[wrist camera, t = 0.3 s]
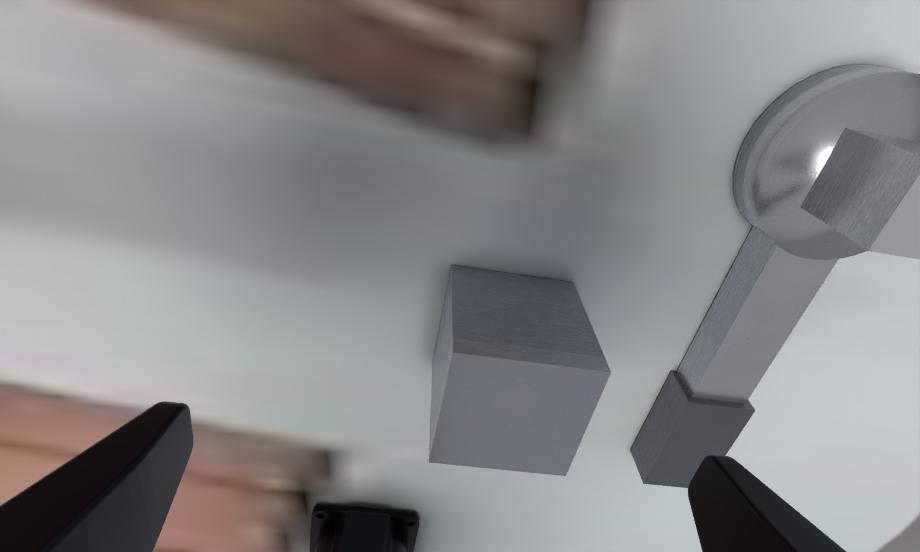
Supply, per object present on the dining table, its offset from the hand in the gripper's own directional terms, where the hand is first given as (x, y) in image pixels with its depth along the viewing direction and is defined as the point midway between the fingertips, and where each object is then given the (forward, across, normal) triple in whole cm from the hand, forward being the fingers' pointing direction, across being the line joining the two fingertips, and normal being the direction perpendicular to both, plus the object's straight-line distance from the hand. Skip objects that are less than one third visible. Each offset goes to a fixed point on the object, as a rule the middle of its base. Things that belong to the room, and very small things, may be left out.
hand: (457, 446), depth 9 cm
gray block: (+13, -3, +6) cm, 15 cm away
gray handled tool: (+13, -14, +3) cm, 20 cm away
